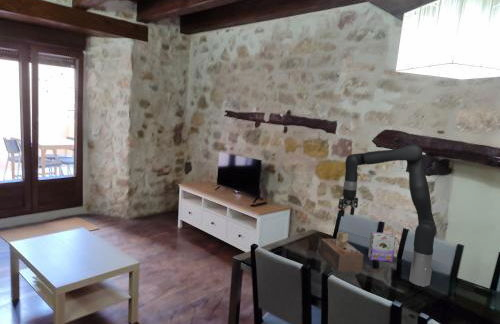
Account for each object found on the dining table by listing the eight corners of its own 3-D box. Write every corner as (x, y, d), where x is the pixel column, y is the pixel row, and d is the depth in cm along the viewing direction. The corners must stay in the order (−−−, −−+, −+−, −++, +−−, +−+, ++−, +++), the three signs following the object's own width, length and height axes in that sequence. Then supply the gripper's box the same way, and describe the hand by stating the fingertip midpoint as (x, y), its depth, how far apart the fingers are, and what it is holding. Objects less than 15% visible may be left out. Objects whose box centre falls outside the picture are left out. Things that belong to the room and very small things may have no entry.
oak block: (346, 247, 209) (348, 234, 208) (342, 248, 206) (343, 235, 205) (340, 244, 212) (342, 231, 211) (335, 245, 209) (337, 232, 208)
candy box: (390, 258, 222) (393, 233, 220) (392, 262, 216) (396, 236, 214) (367, 256, 223) (370, 231, 221) (369, 260, 217) (373, 234, 215)
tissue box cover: (361, 271, 199) (363, 254, 198) (337, 272, 196) (340, 254, 195) (340, 253, 224) (342, 238, 223) (319, 254, 221) (321, 238, 220)
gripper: (346, 190, 198) (343, 218, 200) (363, 189, 206) (360, 216, 208) (336, 187, 204) (333, 215, 206) (352, 186, 212) (350, 212, 214)
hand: (347, 215), depth 207 cm, fingers open, 8 cm apart
